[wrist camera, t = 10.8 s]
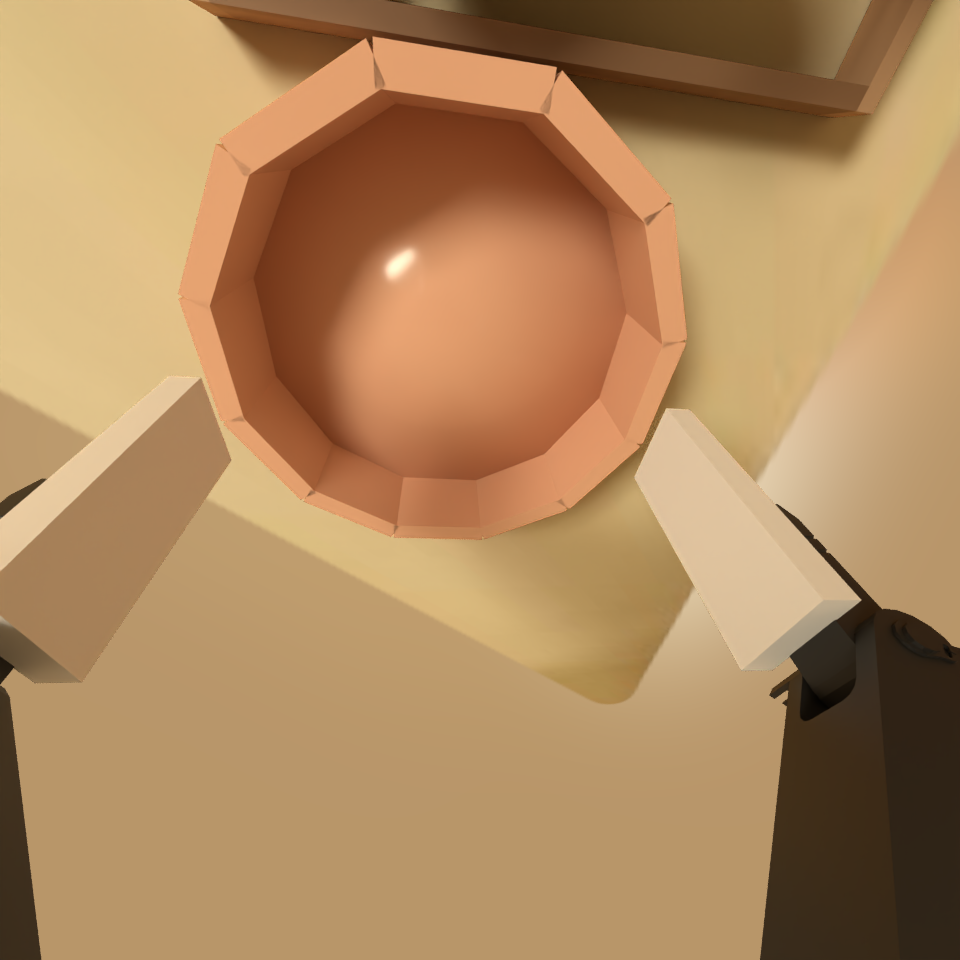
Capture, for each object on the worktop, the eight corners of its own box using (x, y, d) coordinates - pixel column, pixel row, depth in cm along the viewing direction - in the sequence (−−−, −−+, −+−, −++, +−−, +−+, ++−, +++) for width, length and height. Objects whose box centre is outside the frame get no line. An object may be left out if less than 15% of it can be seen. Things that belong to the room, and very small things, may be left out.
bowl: (175, 32, 12) (69, -14, 9) (707, 116, 14) (790, 106, 11) (288, 477, 24) (260, 534, 20) (578, 489, 26) (599, 542, 22)
